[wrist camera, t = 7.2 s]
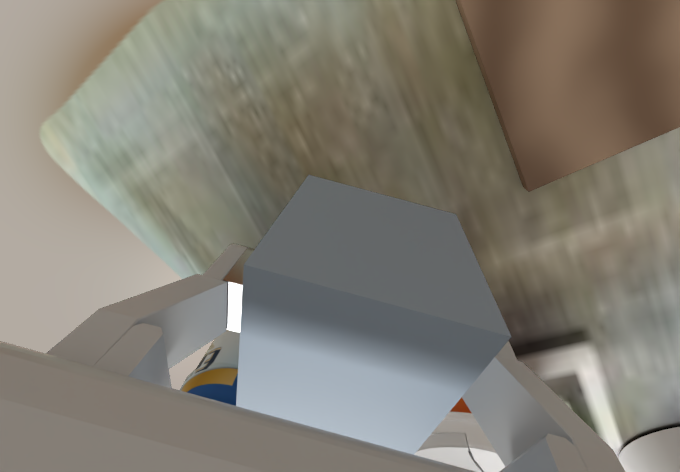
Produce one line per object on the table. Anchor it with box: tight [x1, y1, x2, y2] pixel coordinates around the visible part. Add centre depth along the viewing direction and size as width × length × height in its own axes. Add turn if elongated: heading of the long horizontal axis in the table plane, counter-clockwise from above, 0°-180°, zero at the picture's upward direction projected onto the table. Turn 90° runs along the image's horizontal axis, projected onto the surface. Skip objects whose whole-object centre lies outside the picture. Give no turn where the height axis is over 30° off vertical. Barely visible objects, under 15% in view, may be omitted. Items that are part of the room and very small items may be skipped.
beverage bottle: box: [180, 329, 240, 406], centre depth 25 cm, size 8×8×20 cm
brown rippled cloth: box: [456, 0, 680, 191], centre depth 16 cm, size 16×16×1 cm
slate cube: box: [236, 175, 511, 455], centre depth 9 cm, size 5×5×5 cm
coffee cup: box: [414, 397, 505, 472], centre depth 22 cm, size 8×8×15 cm
